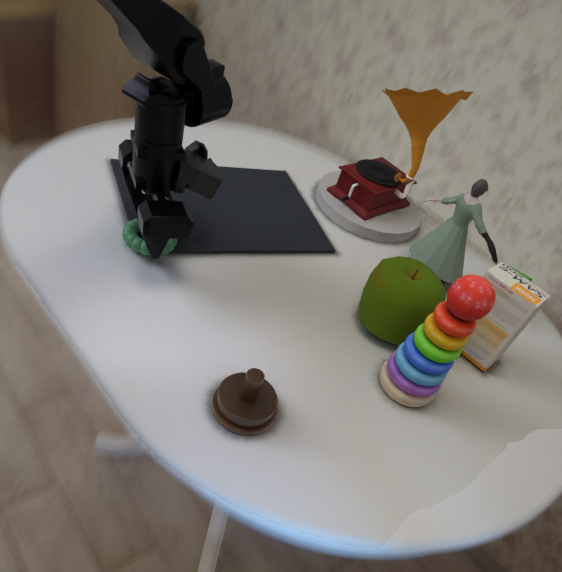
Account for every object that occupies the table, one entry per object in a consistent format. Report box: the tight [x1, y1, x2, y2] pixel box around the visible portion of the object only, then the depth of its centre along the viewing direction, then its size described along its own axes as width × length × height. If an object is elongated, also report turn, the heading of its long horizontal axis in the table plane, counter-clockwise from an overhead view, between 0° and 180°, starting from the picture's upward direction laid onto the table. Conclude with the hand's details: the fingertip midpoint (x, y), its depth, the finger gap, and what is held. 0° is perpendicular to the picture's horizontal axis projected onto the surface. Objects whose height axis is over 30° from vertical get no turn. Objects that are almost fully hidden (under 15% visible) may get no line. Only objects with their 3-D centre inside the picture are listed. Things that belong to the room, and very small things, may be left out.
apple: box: [357, 255, 447, 346], centre depth 72 cm, size 11×11×11 cm
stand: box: [210, 367, 279, 436], centre depth 57 cm, size 8×8×6 cm
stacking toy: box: [378, 274, 496, 408], centre depth 62 cm, size 8×8×19 cm
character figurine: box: [408, 178, 499, 283], centre depth 81 cm, size 16×8×18 cm, turn 42°
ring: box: [122, 218, 177, 256], centre depth 72 cm, size 8×8×2 cm
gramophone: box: [315, 87, 474, 244], centre depth 88 cm, size 20×20×25 cm
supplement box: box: [460, 261, 552, 372], centre depth 73 cm, size 8×5×13 cm, turn 43°
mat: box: [110, 158, 336, 255], centre depth 85 cm, size 32×24×1 cm
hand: (149, 240), depth 73 cm, fingers closed on ring, 7 cm apart
